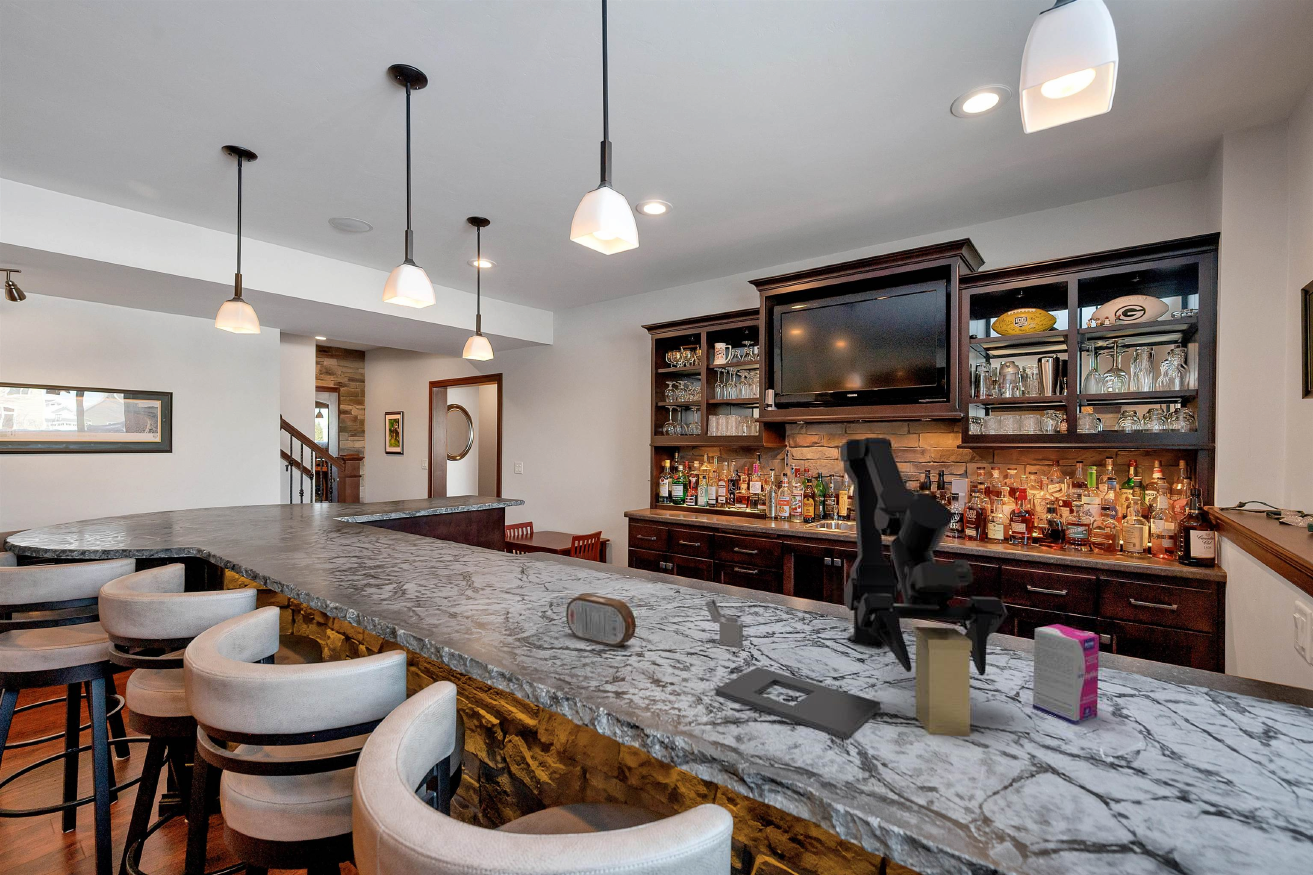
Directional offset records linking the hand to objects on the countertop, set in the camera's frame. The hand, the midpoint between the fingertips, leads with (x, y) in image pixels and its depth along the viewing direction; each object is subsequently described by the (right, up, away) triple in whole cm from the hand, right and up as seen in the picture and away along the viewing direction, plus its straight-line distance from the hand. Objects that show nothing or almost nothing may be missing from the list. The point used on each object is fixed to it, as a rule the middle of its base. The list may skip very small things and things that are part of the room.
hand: (945, 672), depth 76 cm
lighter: (-25, -8, +33) cm, 43 cm away
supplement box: (+20, -8, +6) cm, 22 cm away
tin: (-49, -8, +34) cm, 60 cm away
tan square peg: (0, -8, +1) cm, 8 cm away
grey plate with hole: (-18, -8, +8) cm, 21 cm away
